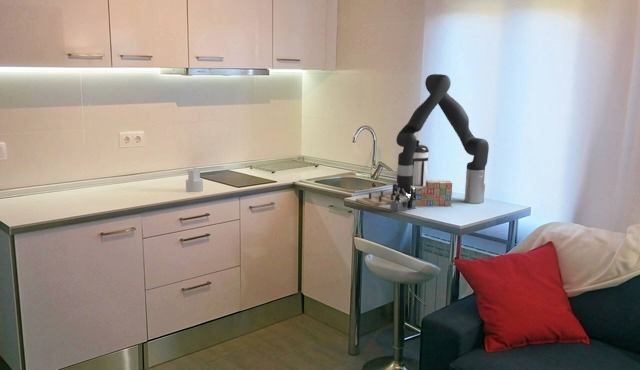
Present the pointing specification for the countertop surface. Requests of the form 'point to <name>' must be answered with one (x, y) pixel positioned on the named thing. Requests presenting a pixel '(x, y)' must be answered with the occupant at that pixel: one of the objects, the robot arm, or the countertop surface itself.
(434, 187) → the stack of blocks
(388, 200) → the pin tray
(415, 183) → the coffee press
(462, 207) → the countertop surface
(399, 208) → the grey rectangular block
